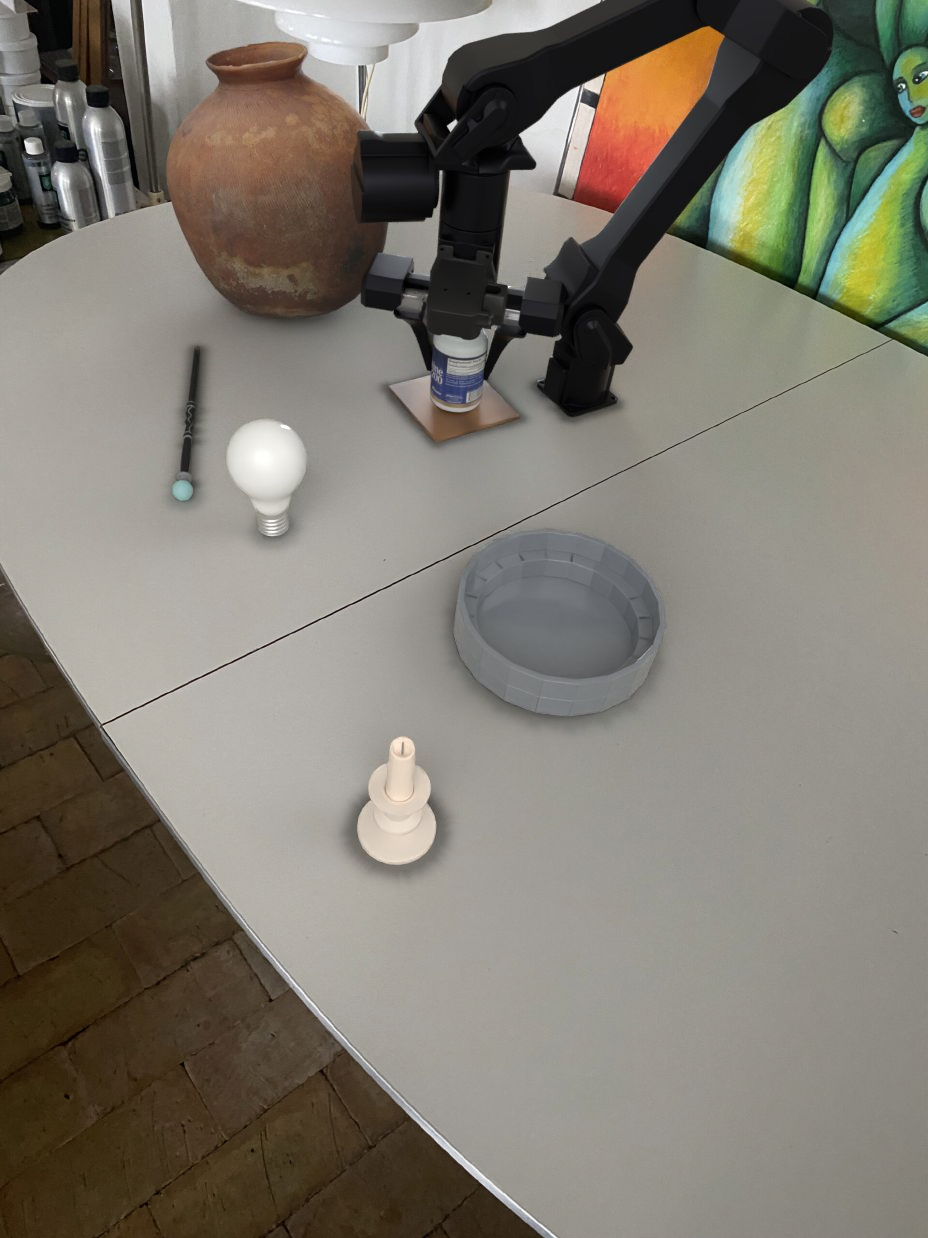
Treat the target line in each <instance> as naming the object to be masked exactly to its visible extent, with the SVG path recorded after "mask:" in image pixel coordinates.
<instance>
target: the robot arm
mask: <svg viewBox="0 0 928 1238" xmlns="http://www.w3.org/2000/svg"><path fill="white" fill-rule="evenodd" d="M707 27H709V28H711V29H712V30H713V31H716V32H718V33H719V34H721V35H722V36H724V37H723V38H722V40H721V42H720V43H719V45H718V48H717V51H716V55H715V58H714V62H713V66H712V68H711V72H710V76H709V79H708V83H707V86H706V88H705V90H704V91H703V93H702V95H701V96H700V97H699V99H698V100H697V101H696V103H695V104H694V105H693V106H692V108H691V109H690V111H689V112H688V113H687V115H686V116H685V117H684V119H683V120H682V121H681V122H680V124H679V125H678V127H676V129H675V130H674V132H673V134H672V135H671V136H670V137H669V139H668V140H667V142H666V143H665V144H664V145H663V147H662V148H661V150H660V151H659V152H658V154H657V155H656V156H655V158H654V159H653V161H651V163H650V165H648V167H647V169H646V170H645V171H644V172H643V173H642V175H641V177H640V178H639V179H638V180H637V182H636V183H635V185H634V186H633V187H632V189H631V190H630V191H629V193H628V194H627V195H626V197H625V198H624V199H623V201H622V202H621V203H620V205H619V207H617V209H616V210H615V211H614V213H613V214H612V216H611V217H610V218H609V220H608V221H607V222H606V224H605V225H604V226H603V228H602V229H601V230H600V231H599V232H598V233H597V234H595V235H594V236H592V237H591V238H588V239H586V240H585V241H583V242H581V243H579V242H577V240H576V239H575V238H574V237H573V236H569V237H568V238H567V239H566V240H565V241H564V242H563V244H562V245H561V247H560V250H559V251H558V253H557V255H556V256H555V258H554V259H552V261H551V262H550V263H549V264H547V265H546V266H545V267H543V269H542V270H543V272H544V274H545V276H544V278H540V277H539V278H538V277H534V276H533V277H532V276H527V277H526V280H525V284H524V287H521V286H514V285H510V286H509V285H508V284H504V283H498V279H499V278H498V277H499V269H500V261H501V252H502V245H503V244H502V243H503V236H504V230H505V229H504V227H505V221H506V211H507V203H508V195H509V186H510V179H511V171H534V170H535V169H536V168H537V160H535V158H534V157H533V156H532V154H531V152H529V150H528V147H526V146H525V144H524V141H523V139H522V137H521V136H520V135H521V134H522V133H524V132H525V131H527V130H528V129H529V128H531V127H532V126H534V125H535V124H536V123H538V122H539V121H540V120H541V119H543V117H544V116H545V115H546V113H548V112H549V110H550V109H551V108H552V107H553V106H554V104H555V103H556V102H558V100H559V99H561V98H562V97H563V96H564V95H566V94H567V93H569V92H570V91H572V90H574V89H575V88H578V87H579V86H580V87H581V86H582V85H584V84H586V83H589V82H591V81H593V80H595V79H597V78H599V77H601V76H603V75H605V74H608V73H610V72H611V71H614V70H616V69H618V68H620V67H623V66H625V65H626V64H629V63H631V62H633V61H635V60H637V59H639V58H642V57H643V56H646V55H648V54H649V53H653V52H654V51H657V50H659V49H661V48H662V47H665V46H667V45H669V44H671V43H673V42H675V41H678V40H680V39H681V38H684V37H686V36H688V35H690V34H692V33H694V32H696V31H698V30H700V29H704V28H707ZM834 36H835V32H834V25H833V20H832V19H831V18H830V16H829V14H828V13H827V12H826V11H824V10H823V9H822V8H820V7H819V6H817V5H815V4H814V3H812V2H810V1H809V0H601V1H600V2H598V3H596V4H594V5H592V6H590V7H588V8H585V9H583V10H581V11H579V12H577V13H575V14H573V15H571V16H569V17H567V18H565V19H562V20H561V21H559V22H556V23H554V24H552V25H550V26H548V27H545V28H541V29H537V30H533V31H523V32H505V33H501V34H500V33H499V34H497V35H493V36H489V37H486V38H482V39H477V40H474V41H470V42H468V43H465V44H463V45H461V46H460V47H458V48H457V49H455V50H454V51H453V52H452V53H451V55H449V56H448V58H447V60H446V61H447V62H446V65H445V67H444V70H443V71H442V75H441V83H440V85H439V86H438V88H437V89H436V91H435V92H434V93H433V95H432V96H431V97H430V99H429V100H428V102H427V103H426V104H425V106H424V107H423V109H422V110H421V111H420V113H419V114H418V116H417V117H416V119H414V123H413V124H414V127H415V130H416V131H417V132H382V131H377V130H373V129H371V130H359V131H358V132H357V146H356V147H355V150H354V157H353V164H351V189H352V200H353V207H354V213H355V217H356V220H357V222H358V223H388V224H389V223H391V224H392V223H423V222H425V221H426V219H433V215H434V211H435V209H437V208H438V205H439V217H438V231H437V246H436V257H435V259H434V261H433V264H432V266H431V268H430V272H429V274H427V275H426V274H423V273H415V261H414V258H413V257H409V256H403V255H397V254H396V255H395V254H389V253H384V252H383V253H377V254H376V255H375V256H374V257H373V258H372V259H371V261H370V263H369V265H368V267H367V269H366V271H365V273H364V275H363V277H362V282H361V293H360V304H361V305H362V306H363V307H364V308H368V309H376V310H381V311H387V312H392V313H393V316H394V318H396V319H397V320H402V321H404V322H405V323H407V324H408V325H409V326H410V328H411V330H412V333H413V334H414V336H415V338H416V341H417V344H418V347H419V350H420V353H421V356H422V359H423V362H424V365H425V368H426V371H427V372H431V367H432V353H433V339H434V335H439V336H440V335H449V336H455V337H460V338H462V339H464V340H474V339H476V338H477V337H478V336H479V335H480V332H481V328H483V329H484V330H491V329H492V327H494V326H495V328H494V332H493V335H492V339H491V343H490V345H489V349H488V352H487V358H486V364H485V368H484V377H483V380H485V381H488V380H489V378H490V375H491V374H492V372H493V370H494V368H495V367H496V364H497V363H498V360H499V359H500V356H501V355H502V353H503V352H504V350H505V349H506V347H508V344H509V343H510V342H512V341H513V340H514V339H525V338H526V337H527V335H535V336H540V337H547V338H556V337H559V336H560V338H559V339H556V340H554V344H553V349H552V355H551V356H550V357H549V358H548V361H547V367H546V373H545V378H541V379H539V380H537V382H536V387H537V388H538V389H539V391H541V392H542V393H543V394H544V395H545V396H546V397H547V398H548V399H549V400H551V401H552V403H554V404H555V405H556V406H557V407H558V408H559V409H560V410H561V411H562V412H563V413H564V414H565V415H566V416H568V417H572V418H573V417H577V416H580V415H584V414H587V413H591V412H594V411H597V410H601V409H603V408H604V409H605V408H607V407H611V406H614V405H616V404H618V401H619V398H618V397H617V396H616V394H614V393H613V392H612V391H611V390H610V389H611V385H612V381H613V377H614V373H615V370H616V366H622V365H624V363H625V362H626V361H627V359H628V358H629V356H630V354H631V353H632V351H633V349H634V345H633V344H632V343H631V341H630V339H629V338H628V336H627V334H626V333H625V332H624V330H623V329H622V327H621V326H620V324H619V320H620V318H621V316H622V314H624V312H625V309H626V308H627V306H628V304H629V302H630V298H631V294H632V292H633V287H634V283H635V279H636V276H637V273H638V271H639V269H640V267H641V266H642V264H643V263H644V262H645V260H646V259H647V258H648V256H649V255H650V254H651V253H652V251H653V250H654V249H655V248H656V246H657V245H658V244H659V242H660V241H661V240H662V239H663V237H664V236H665V235H666V234H667V232H668V231H669V230H670V229H671V227H672V226H673V225H674V223H675V222H676V221H677V220H678V218H679V217H680V216H681V215H682V213H683V212H684V211H685V210H686V209H687V207H688V206H689V205H690V204H691V202H692V201H693V200H694V198H695V197H696V196H697V195H698V193H699V192H700V191H701V189H702V188H703V187H704V185H705V184H706V183H707V182H708V180H709V179H710V178H711V176H713V174H714V173H715V172H716V170H717V169H718V168H719V167H720V166H721V164H722V163H723V161H725V159H726V158H727V157H728V156H729V154H730V153H731V151H732V150H733V149H734V148H735V146H736V145H737V144H738V143H739V141H740V140H741V139H742V137H743V136H744V135H745V133H747V131H748V130H750V129H751V128H752V127H754V125H756V124H758V123H759V122H761V121H763V120H765V119H767V118H768V117H771V116H772V115H774V114H776V113H777V112H780V111H781V110H783V109H784V108H786V107H787V106H789V105H790V104H791V103H792V102H793V101H794V100H795V99H796V98H797V97H798V96H799V95H800V94H801V93H803V91H804V90H805V89H806V88H807V87H808V86H809V85H810V84H811V83H812V82H813V81H814V80H815V79H816V78H817V77H818V76H819V75H820V74H821V73H822V72H823V70H824V69H825V67H826V65H827V64H828V62H829V61H830V58H831V56H832V54H833V52H834V49H833V42H834ZM453 122H455V123H456V124H455V125H454V127H453V128H452V130H450V128H449V127H448V126H449V125H451V124H452V123H453ZM440 172H441V175H440ZM440 176H441V183H440ZM440 184H441V185H440ZM440 186H441V188H440ZM439 201H440V202H439Z"/></svg>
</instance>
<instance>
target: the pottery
mask: <svg viewBox="0 0 928 1238" xmlns="http://www.w3.org/2000/svg"><path fill="white" fill-rule="evenodd" d="M308 52H309V51H308V48H307V47H306V45H304V44H302V43H299V42H296V41H292V42H289V41H279V40H274V41H265V42H258V43H249V44H246V45H242V46H234V47H231V48H227V49H223V50H219V51H216V52H214V53H212V54H210V55H209V56H208V57H207V58H206V60H205V61H204V62H205V65H206V67H207V68H208V69H209V70H210V71H211V72H212V73H213V74H214V75H215V76H216V78H217V79H218V84H217V85H216V87H215V89H213V91H211V92H210V93H209V94H208V95H207V96H206V97H204V98H203V99H202V100H201V101H200V102H198V104H197V105H196V106H195V107H193V108H192V109H191V110H190V112H189V113H188V114H187V116H185V118H184V119H183V121H182V122H181V124H180V125H179V127H178V128H177V130H176V132H175V134H174V136H173V138H172V140H171V142H170V145H169V148H168V153H167V157H166V163H165V168H166V169H165V176H166V186H167V190H168V194H169V198H170V201H171V205H172V209H173V211H174V215H175V217H176V219H177V222H178V225H179V227H180V229H181V232H182V234H183V236H184V239H185V241H186V243H187V245H188V247H189V249H190V251H191V253H192V256H193V258H194V260H195V262H196V263H197V265H198V266H199V269H200V270H201V271H202V272H203V274H204V276H205V278H206V279H207V280H208V281H209V283H210V284H211V286H212V287H213V288H214V289H215V290H216V291H217V292H218V293H219V294H220V295H221V296H222V297H224V298H225V299H226V300H227V301H228V302H230V304H232V305H233V306H235V307H236V308H238V309H239V310H240V311H243V312H245V313H248V314H250V315H255V316H260V317H261V316H262V317H270V318H287V319H288V318H291V319H296V318H297V319H299V318H311V317H312V318H313V317H317V316H322V315H326V314H330V313H332V312H335V311H337V310H340V309H341V308H342V307H344V306H346V305H348V304H349V303H351V302H353V300H355V299H356V298H357V297H358V296H360V295H361V282H362V277H363V275H364V273H365V271H366V269H367V267H368V265H369V263H370V261H371V259H372V258H373V257H374V256H375V255H376V254H377V253H384V250H385V247H386V243H387V236H388V229H389V223H358V222H357V220H356V217H355V213H354V207H353V200H352V189H351V164H353V157H354V150H355V147H356V146H357V132H358V131H359V130H372V129H371V128H370V126H369V124H368V123H367V121H366V120H365V117H363V116H362V115H361V113H359V111H358V110H357V109H356V108H355V107H354V106H353V105H352V104H351V103H350V102H348V101H347V100H346V99H345V98H344V97H343V96H342V95H341V94H339V93H338V92H337V91H335V90H333V89H332V88H330V87H328V86H327V85H325V84H323V83H321V82H318V80H315V79H313V78H311V77H309V75H307V74H305V73H304V70H303V69H302V68H303V65H304V62H305V61H306V59H307V57H308V54H309V53H308Z"/></svg>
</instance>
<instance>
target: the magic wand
mask: <svg viewBox="0 0 928 1238" xmlns="http://www.w3.org/2000/svg"><path fill="white" fill-rule="evenodd" d="M199 359H200V347H199V346H198V345H196V346H194V350H193V357H192V365H191V366H192V367H191V373H190V380H189V381H190V382H189V391H188V399H187V403H186V405H185V406H186V407H185V409H186V410H185V416H186V418H185V420H184V424H185V427H184V433H183V437H182V441H183V444H182V450H181V456H180V457H181V458H180V470H179V472H177V473H176V474H175V477H174V478H175V482H174V484H173V485H172V488H171V491H172V495H173V497H174V498H175V499H176V500H177V501H181V502H186V501H189V500H190V498H192V497H193V494H194V488H193V485H192V484H191V483H192V481H193V476H192V475H191V474H190V467H191V458H192V457H191V456H192V443H193V440H194V433H193V429H194V420H195V412H196V407H197V406H196V405H197V404H196V394H197V382H198V372H199Z"/></svg>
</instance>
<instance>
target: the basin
mask: <svg viewBox="0 0 928 1238" xmlns="http://www.w3.org/2000/svg"><path fill="white" fill-rule="evenodd" d="M665 607H666V606H665V601H664V598H663V596H662V594H661V592H660V590H659V589H658V586H657V584H656V583H655V580H654V578H653V577H652V576H651V575H650V574H649V573H648V572H647V571H646V570H645V569H644V567H642V566H641V565H640V564H639V563H638V562H637V560H635V559H634V558H633V557H632V556H630V555H628V553H625V552H624V551H622V550H621V549H619V548H618V547H616V546H615V545H613V544H611V543H609V542H607V541H604V540H602V539H598V538H596V537H593V536H590V535H587V534H585V533H582V532H578V531H573V530H563V529H555V528H539V529H538V528H537V529H527V530H519V531H515V532H513V533H510V534H507V535H504V536H501V537H498V538H496V539H493V540H491V541H489V543H488V544H486V545H485V546H483V547H482V548H481V549H479V550H478V551H477V552H475V553H474V554H473V555H472V556H471V558H470V559H469V561H468V563H467V564H466V566H465V568H464V569H463V571H462V572H461V574H460V576H459V582H458V591H457V600H456V607H455V615H454V623H453V631H452V632H453V633H452V635H453V638H454V641H455V644H456V648H457V652H458V655H459V658H460V659H461V661H462V662H463V663H464V665H465V667H466V668H467V669H468V670H469V672H470V673H471V674H472V676H473V678H474V679H475V680H476V682H478V683H479V684H481V686H484V687H485V688H486V689H487V690H489V691H490V692H492V693H493V694H494V695H496V696H497V697H498V698H500V699H501V700H502V701H504V702H506V703H509V704H512V705H514V706H518V707H519V708H522V709H525V710H527V711H530V712H532V713H535V714H543V715H550V716H558V717H566V718H567V717H570V718H571V717H575V716H576V717H577V716H584V715H591V714H597V713H601V712H604V711H606V710H608V709H611V708H612V707H615V706H617V705H619V704H621V703H623V702H626V701H627V700H629V698H631V697H632V695H633V694H635V692H636V691H637V690H638V689H640V687H641V686H642V685H643V684H644V683H645V682H646V680H647V678H648V674H649V673H650V670H651V668H652V665H653V663H654V660H655V658H656V655H657V653H658V651H659V648H660V645H661V642H662V639H663V636H664V634H665V631H666V628H667V619H666V618H667V617H666V608H665Z"/></svg>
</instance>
